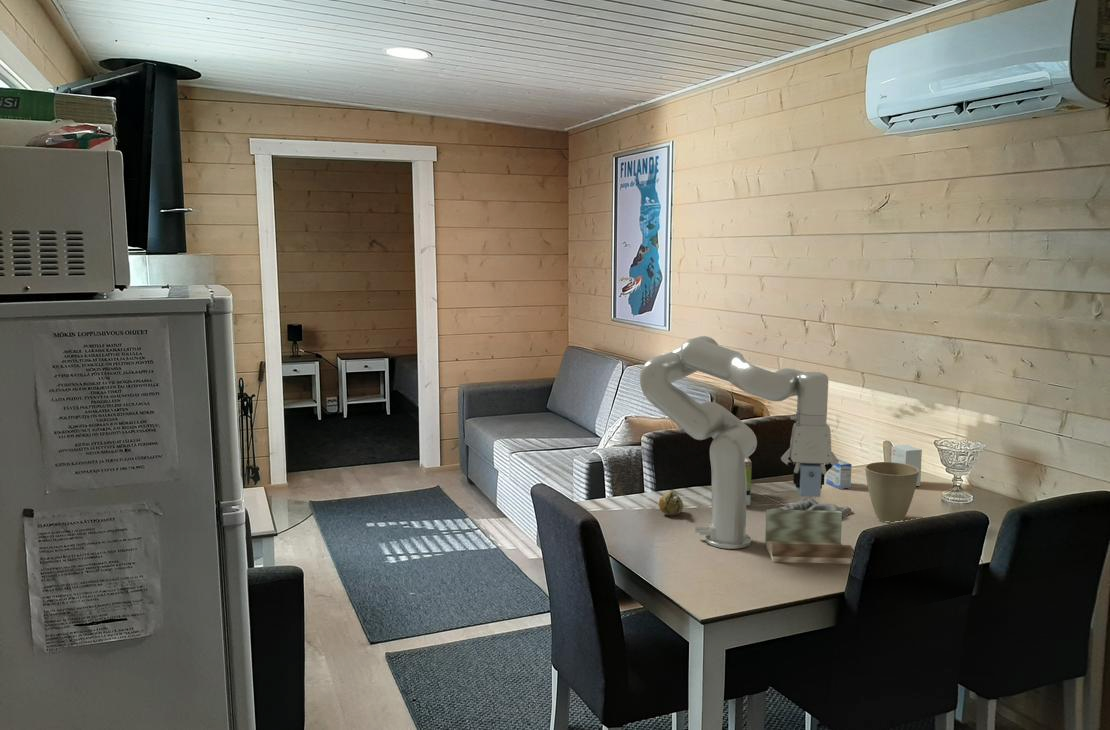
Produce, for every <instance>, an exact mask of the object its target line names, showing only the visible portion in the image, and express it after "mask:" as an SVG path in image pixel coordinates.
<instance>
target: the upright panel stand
mask: <svg viewBox="0 0 1110 730" xmlns="http://www.w3.org/2000/svg"><path fill="white" fill-rule="evenodd" d="M842 520H843V517H842V512H841V511H816V510H771V509H765V539H764V540H765V542H764V543H765V544H764V545H765V547H766V549H767V552H768V554H769V556H770V559H771V561H772V562H773V563H797V564H798V563H803V564H840V565H841V564H842V565H844V564H845V565H851V564H852V553H853V552H852V551H853V547H852V546H851V544H843V543H842ZM850 563H851V564H850Z"/></svg>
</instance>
